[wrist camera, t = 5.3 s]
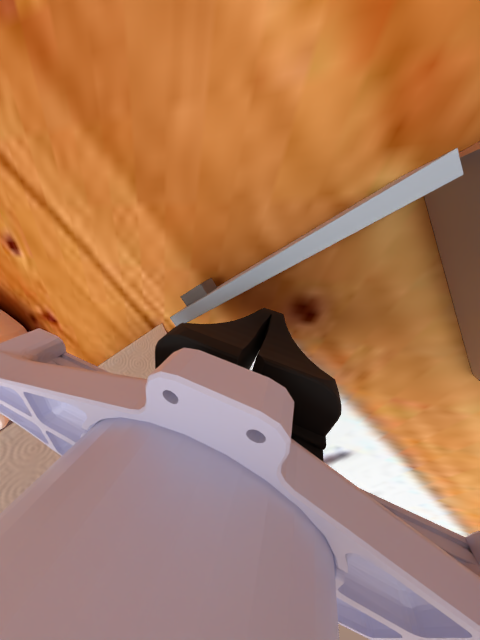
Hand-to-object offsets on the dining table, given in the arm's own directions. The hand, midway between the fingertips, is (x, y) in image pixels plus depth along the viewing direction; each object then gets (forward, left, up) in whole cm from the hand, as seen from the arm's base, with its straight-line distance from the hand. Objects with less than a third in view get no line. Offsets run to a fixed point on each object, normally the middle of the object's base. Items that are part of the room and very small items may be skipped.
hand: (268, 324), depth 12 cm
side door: (-2, -4, -3) cm, 5 cm away
